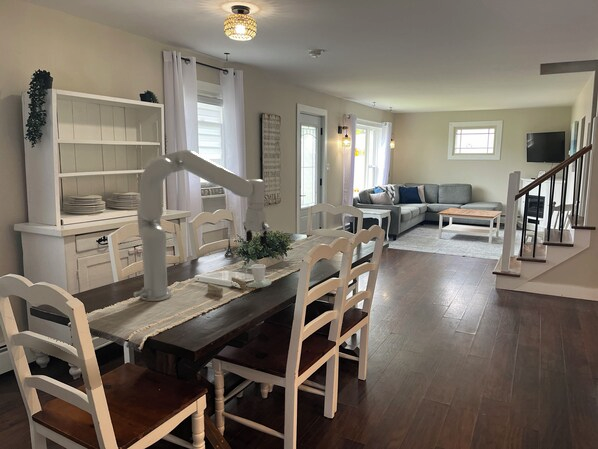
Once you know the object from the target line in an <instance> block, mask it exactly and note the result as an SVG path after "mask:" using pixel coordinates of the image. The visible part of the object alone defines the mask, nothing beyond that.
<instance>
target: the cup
mask: <svg viewBox="0 0 598 449" xmlns="http://www.w3.org/2000/svg"><path fill="white" fill-rule="evenodd" d="M266 267H267V266H266V264H261V263H260V264H256V263H255V264H252V265H251V267H247V268H246V269H245V272H244V275H245V279H249V277H248V275H247V271H248V270H251V271H252V272H251V273H252V278H254V283H256V284H261V283H263V280H264V278H265V273H266V269H267V268H266Z"/></svg>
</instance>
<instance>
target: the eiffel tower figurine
mask: <svg viewBox="0 0 598 449" xmlns="http://www.w3.org/2000/svg"><path fill="white" fill-rule="evenodd" d="M236 254H237V253H235V252H233V251H232V248H231V240H230V236H228V245H227V250H226V252H225V254H224V257H225V258H227V259H226V260H228V261H229V260H232V259H236V258H238V257H239V256H237V255H236Z"/></svg>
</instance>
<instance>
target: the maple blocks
mask: <svg viewBox="0 0 598 449" xmlns="http://www.w3.org/2000/svg"><path fill="white" fill-rule="evenodd" d="M230 278H231V279H230V280H231V282H232V281H233V282H236V283H238V284H239V285H240V287H241V289H240V290H243V289H244V291H246V290H247V287H246V281H245V279H241V278H237V277H234V276H233V277H230ZM245 289H246V290H245ZM207 293H209V294H211V295H213V296H215V297H219V298H222V297H223V296H224V292H223V287H221V286H218V285H215V284H212V283H207Z"/></svg>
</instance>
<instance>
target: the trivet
mask: <svg viewBox="0 0 598 449" xmlns="http://www.w3.org/2000/svg"><path fill="white" fill-rule="evenodd" d="M271 285H272V280H271V279H270V278H269V279H268V278H265V277H264V280H263V283H261V284H256V283H254V282H252V283H249V284H246V286H247V287H246V288H250V287H256V288H255V289H259V288H266V287H269V286H271Z"/></svg>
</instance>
